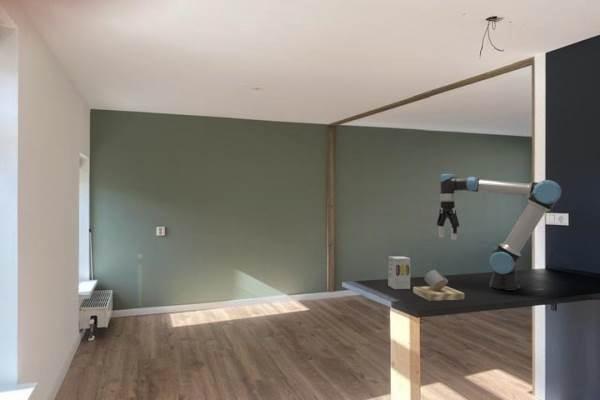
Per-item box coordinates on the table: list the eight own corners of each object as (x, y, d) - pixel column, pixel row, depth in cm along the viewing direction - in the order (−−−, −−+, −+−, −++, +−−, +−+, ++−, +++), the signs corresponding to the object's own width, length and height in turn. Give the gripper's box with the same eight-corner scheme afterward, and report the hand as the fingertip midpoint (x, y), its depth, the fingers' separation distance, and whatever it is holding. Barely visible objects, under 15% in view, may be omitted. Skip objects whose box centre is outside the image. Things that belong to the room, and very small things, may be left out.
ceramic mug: (434, 294, 206) (435, 283, 201) (423, 283, 212) (424, 273, 207) (451, 285, 209) (452, 275, 204) (440, 274, 215) (441, 264, 210)
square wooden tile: (445, 291, 219) (445, 285, 219) (464, 299, 201) (464, 293, 201) (413, 292, 216) (413, 286, 216) (429, 300, 198) (429, 294, 198)
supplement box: (394, 289, 224) (394, 258, 224) (387, 286, 233) (387, 256, 233) (410, 288, 226) (410, 257, 226) (403, 285, 235) (403, 255, 235)
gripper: (430, 201, 248) (430, 236, 247) (453, 201, 223) (453, 240, 223) (442, 201, 249) (442, 236, 249) (465, 201, 224) (466, 240, 224)
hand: (447, 238), depth 236 cm, fingers open, 13 cm apart
